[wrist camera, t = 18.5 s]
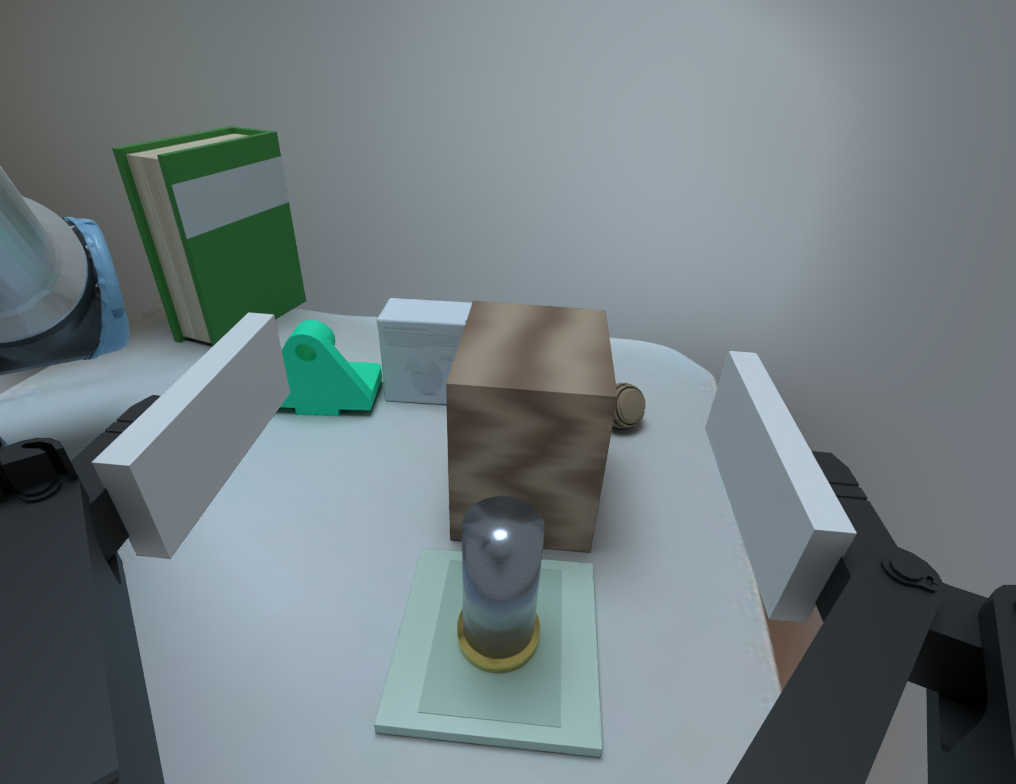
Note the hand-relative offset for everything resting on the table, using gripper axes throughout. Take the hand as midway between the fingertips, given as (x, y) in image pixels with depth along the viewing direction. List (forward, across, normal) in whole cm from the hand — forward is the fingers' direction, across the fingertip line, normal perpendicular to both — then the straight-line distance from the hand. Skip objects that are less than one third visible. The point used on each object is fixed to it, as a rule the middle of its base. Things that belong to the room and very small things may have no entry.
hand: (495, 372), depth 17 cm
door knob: (+38, +11, -30) cm, 49 cm away
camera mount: (+38, -23, -30) cm, 54 cm away
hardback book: (+56, -41, -30) cm, 75 cm away
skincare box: (+42, -11, -30) cm, 52 cm away
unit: (+26, +1, -29) cm, 39 cm away
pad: (+10, 0, -29) cm, 31 cm away
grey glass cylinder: (+9, 0, -28) cm, 29 cm away
